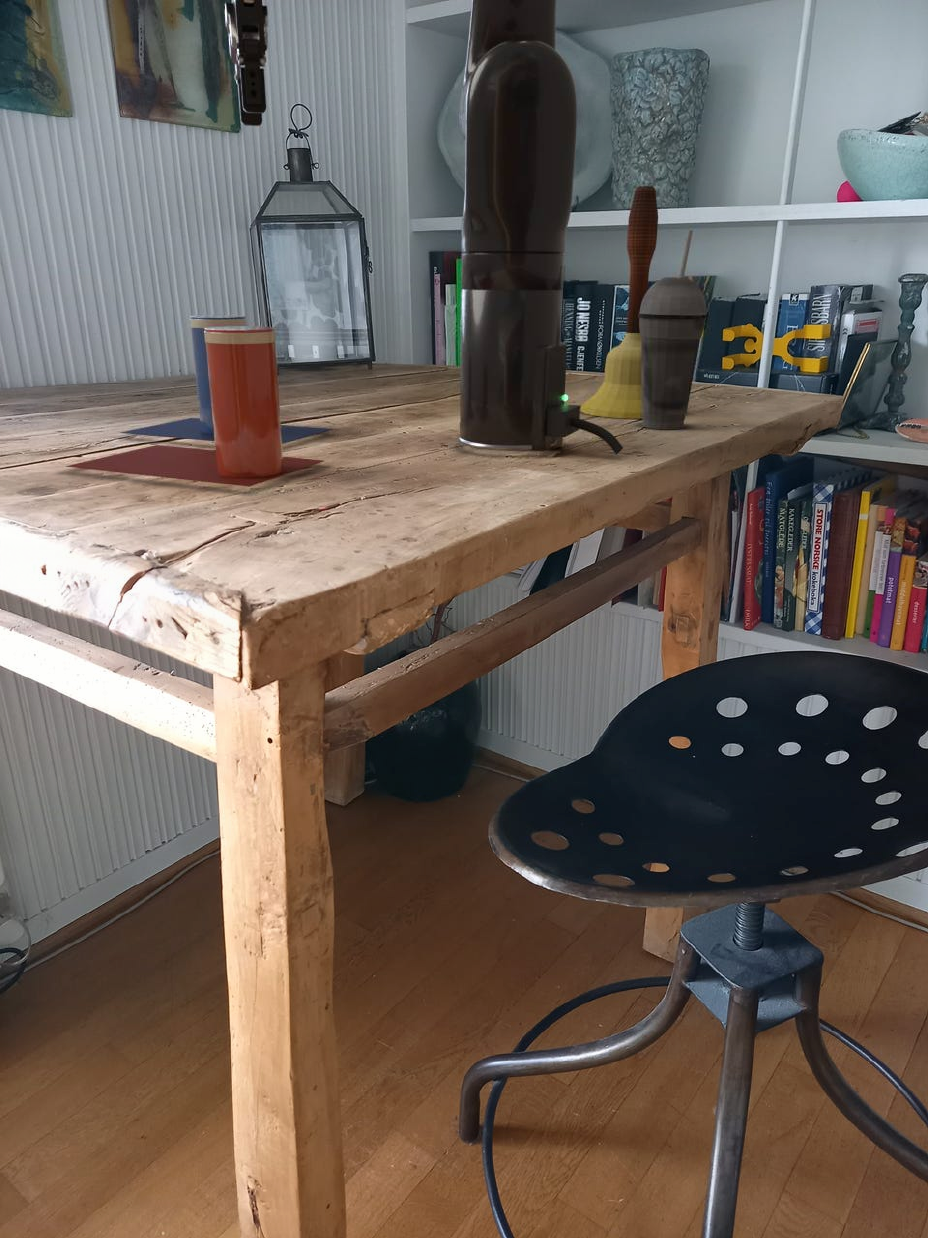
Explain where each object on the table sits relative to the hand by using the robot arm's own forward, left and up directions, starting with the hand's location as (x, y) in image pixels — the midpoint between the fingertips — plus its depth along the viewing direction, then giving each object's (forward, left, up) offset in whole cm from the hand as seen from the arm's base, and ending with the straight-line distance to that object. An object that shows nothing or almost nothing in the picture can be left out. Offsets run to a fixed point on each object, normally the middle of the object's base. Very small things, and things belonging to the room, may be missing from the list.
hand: (253, 118), depth 91 cm
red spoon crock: (-16, +27, -30) cm, 43 cm away
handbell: (-35, -25, -30) cm, 53 cm away
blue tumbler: (-2, +11, -30) cm, 32 cm away
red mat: (-10, +26, -30) cm, 41 cm away
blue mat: (-2, +11, -30) cm, 32 cm away
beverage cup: (-41, -15, -30) cm, 53 cm away
